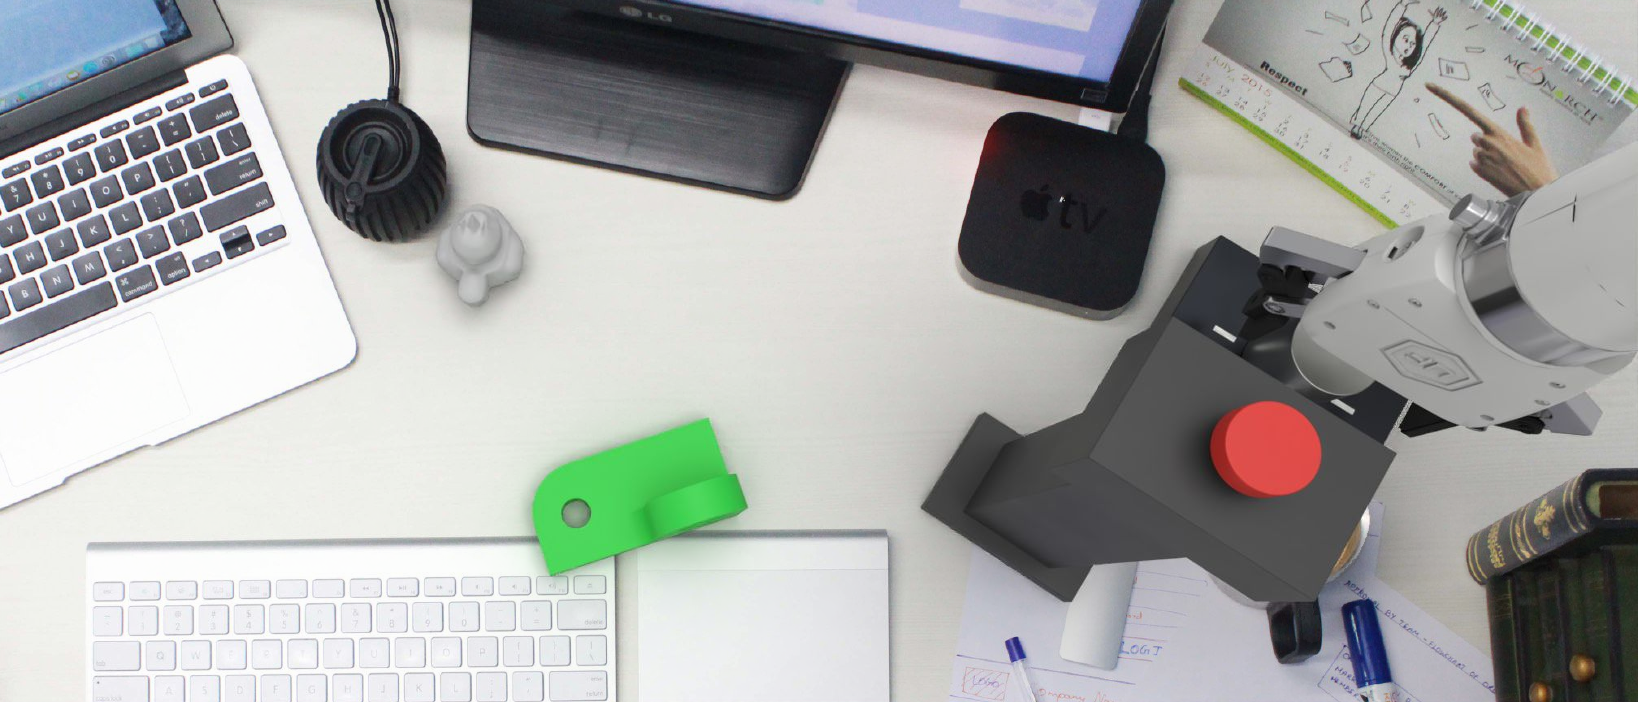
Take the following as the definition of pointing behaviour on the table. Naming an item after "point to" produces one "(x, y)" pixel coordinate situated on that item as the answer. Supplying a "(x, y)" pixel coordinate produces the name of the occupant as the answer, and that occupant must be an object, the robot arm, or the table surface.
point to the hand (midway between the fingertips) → (1333, 364)
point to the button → (1266, 449)
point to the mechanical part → (636, 496)
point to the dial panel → (1215, 310)
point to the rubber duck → (480, 252)
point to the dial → (1304, 364)
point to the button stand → (1158, 479)
